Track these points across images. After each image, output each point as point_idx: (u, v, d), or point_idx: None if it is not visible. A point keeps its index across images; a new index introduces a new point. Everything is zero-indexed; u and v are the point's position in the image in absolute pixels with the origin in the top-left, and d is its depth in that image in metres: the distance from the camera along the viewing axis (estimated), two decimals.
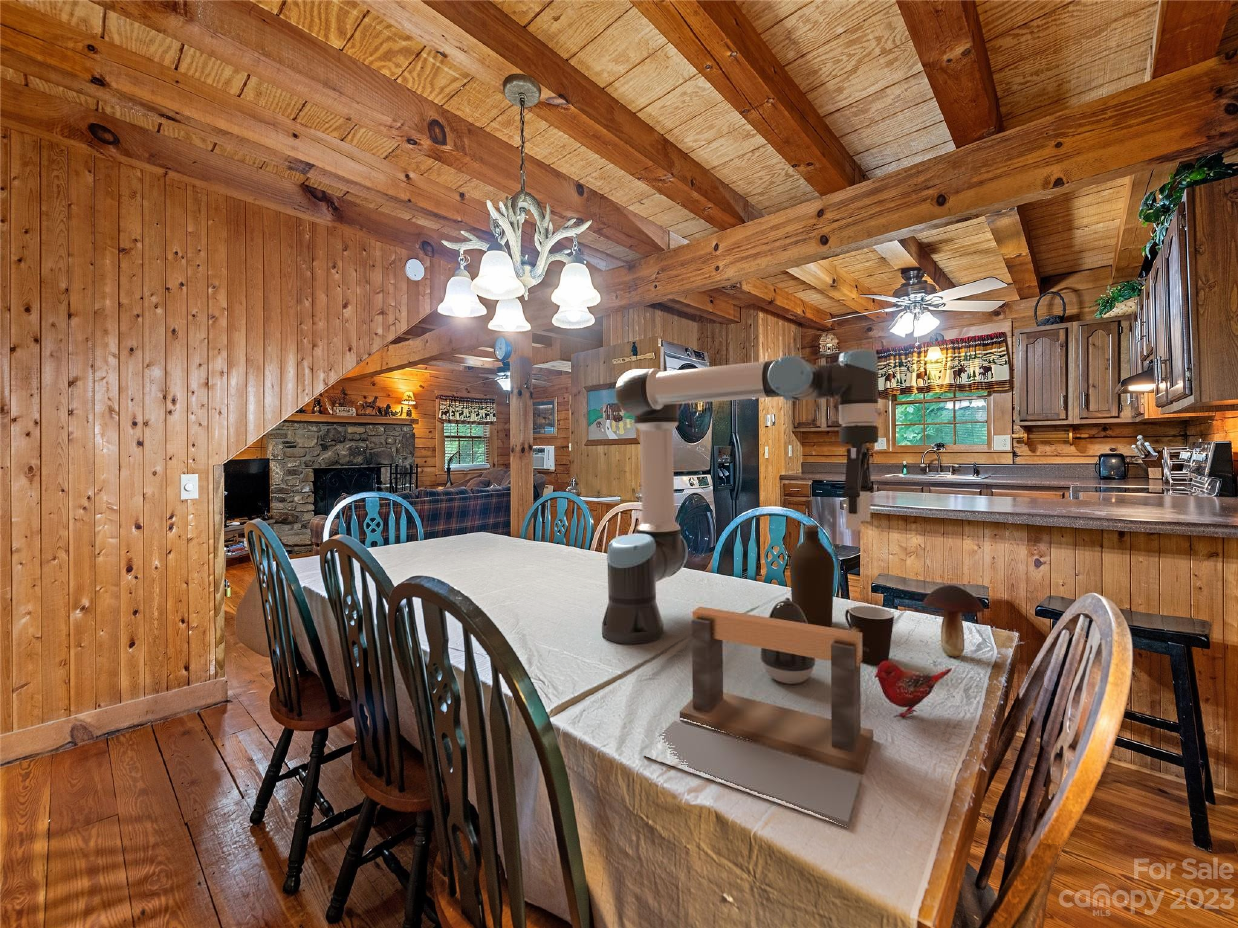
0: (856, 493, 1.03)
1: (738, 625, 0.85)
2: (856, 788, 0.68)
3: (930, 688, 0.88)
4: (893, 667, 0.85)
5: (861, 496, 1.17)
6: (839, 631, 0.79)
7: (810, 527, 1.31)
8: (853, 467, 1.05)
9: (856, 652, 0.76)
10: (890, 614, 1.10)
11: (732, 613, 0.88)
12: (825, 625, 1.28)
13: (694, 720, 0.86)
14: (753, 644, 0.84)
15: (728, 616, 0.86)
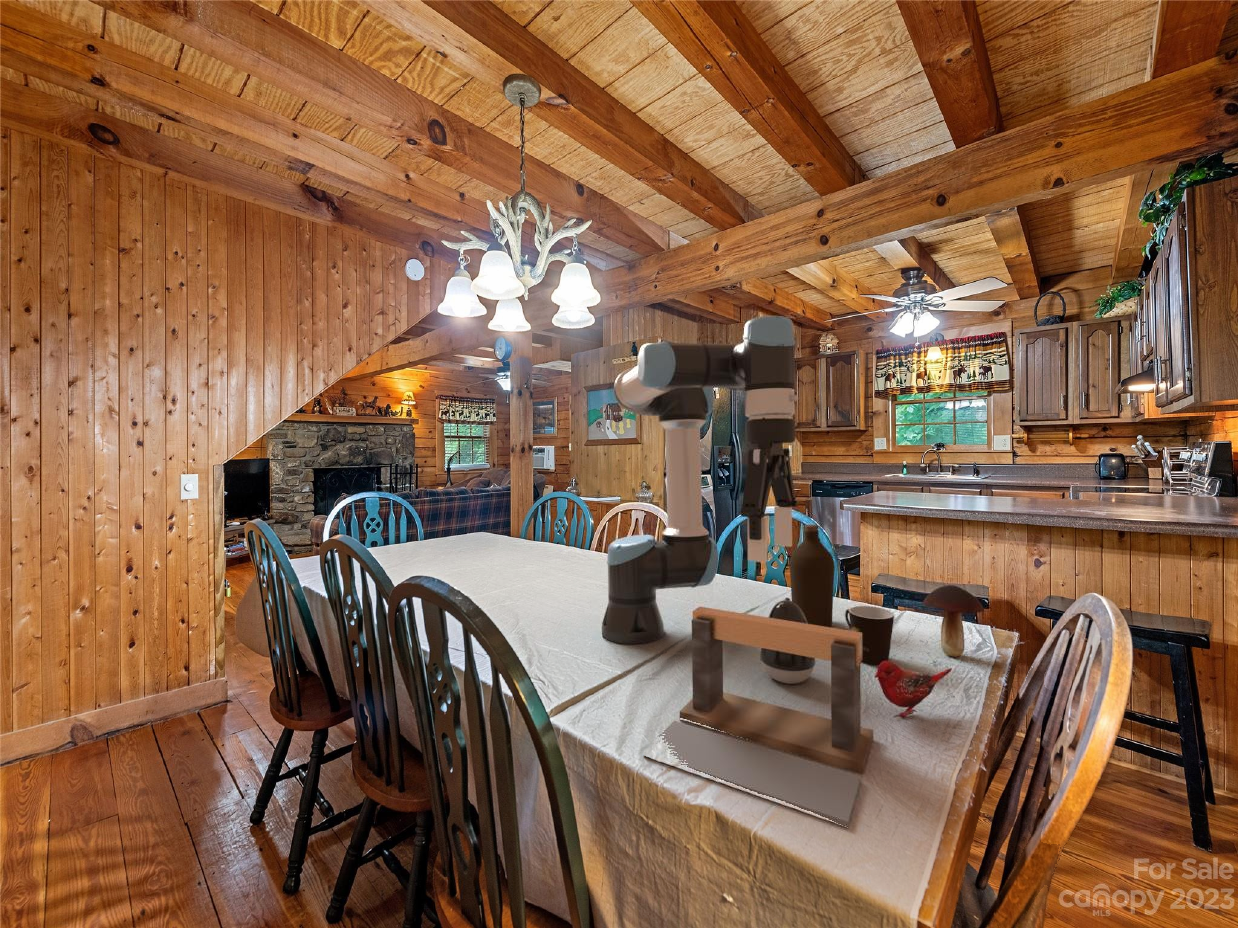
0: (756, 512, 0.74)
1: (738, 625, 0.85)
2: (856, 788, 0.68)
3: (930, 688, 0.88)
4: (893, 667, 0.85)
5: (780, 513, 0.89)
6: (839, 631, 0.79)
7: (810, 527, 1.31)
8: (755, 476, 0.76)
9: (856, 652, 0.76)
10: (890, 614, 1.10)
11: (732, 613, 0.88)
12: (825, 625, 1.28)
13: (694, 720, 0.86)
14: (753, 644, 0.84)
15: (728, 616, 0.86)
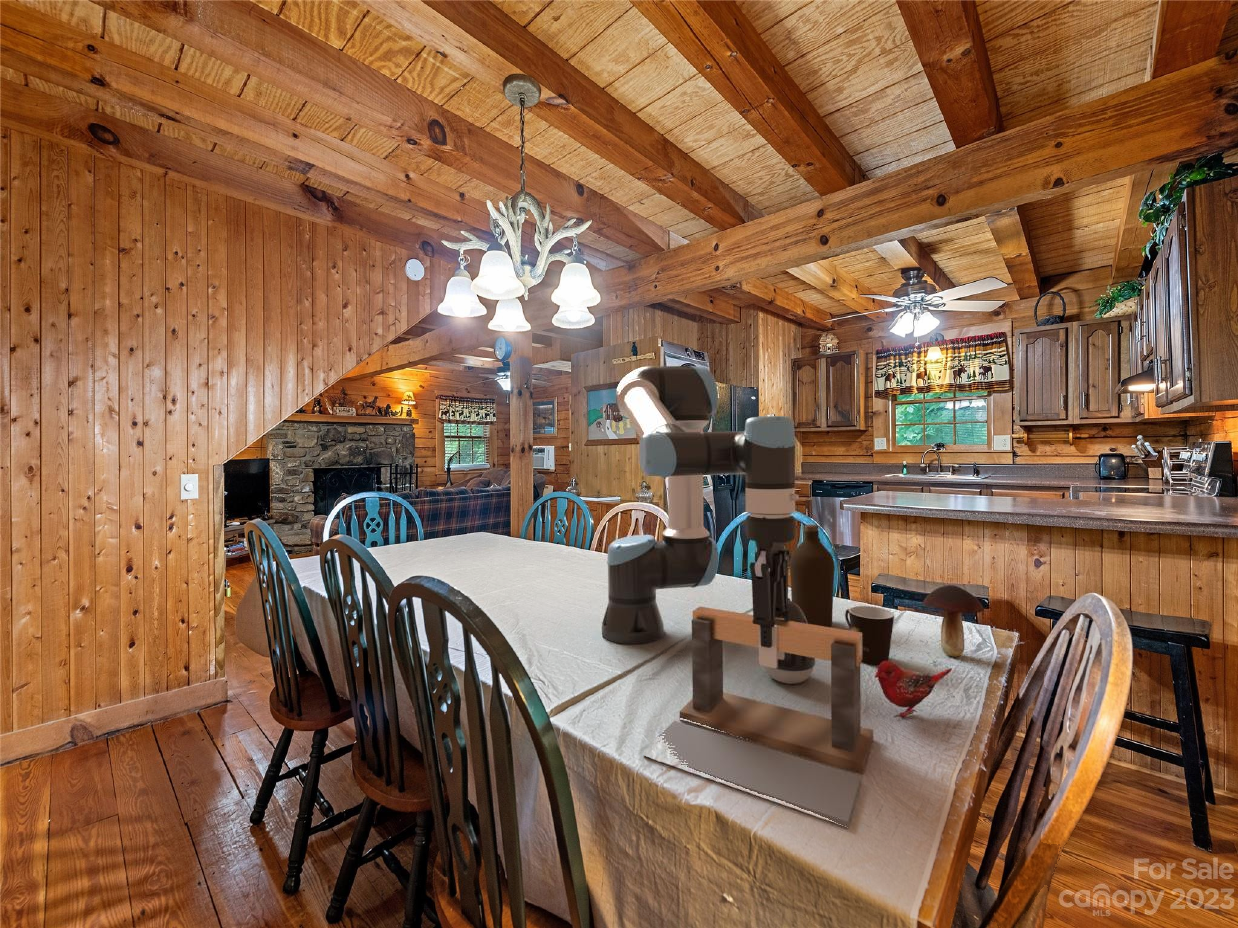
0: (768, 625, 0.79)
1: (738, 625, 0.85)
2: (856, 788, 0.68)
3: (930, 688, 0.88)
4: (893, 667, 0.85)
5: None
6: (839, 631, 0.79)
7: (810, 527, 1.31)
8: (761, 591, 0.79)
9: (856, 652, 0.76)
10: (890, 614, 1.10)
11: (732, 613, 0.88)
12: (825, 625, 1.28)
13: (694, 720, 0.86)
14: (753, 644, 0.84)
15: (728, 616, 0.86)
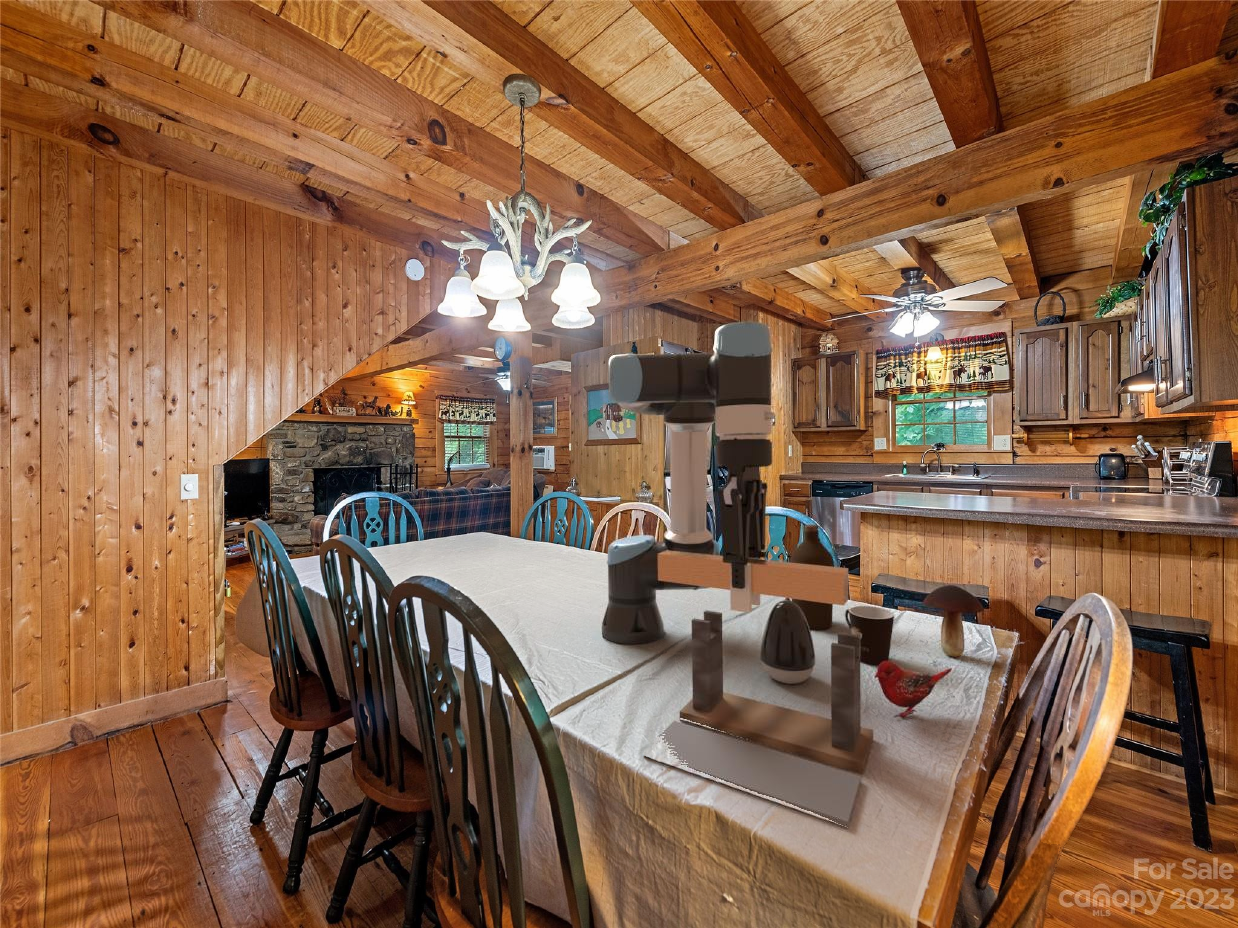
0: (739, 561, 0.68)
1: (708, 566, 0.74)
2: (856, 788, 0.68)
3: (930, 688, 0.88)
4: (893, 667, 0.85)
5: None
6: (821, 567, 0.68)
7: (810, 527, 1.31)
8: (731, 521, 0.68)
9: (840, 588, 0.65)
10: (890, 614, 1.10)
11: (702, 554, 0.77)
12: (825, 625, 1.28)
13: (694, 720, 0.86)
14: (724, 587, 0.73)
15: (697, 557, 0.76)
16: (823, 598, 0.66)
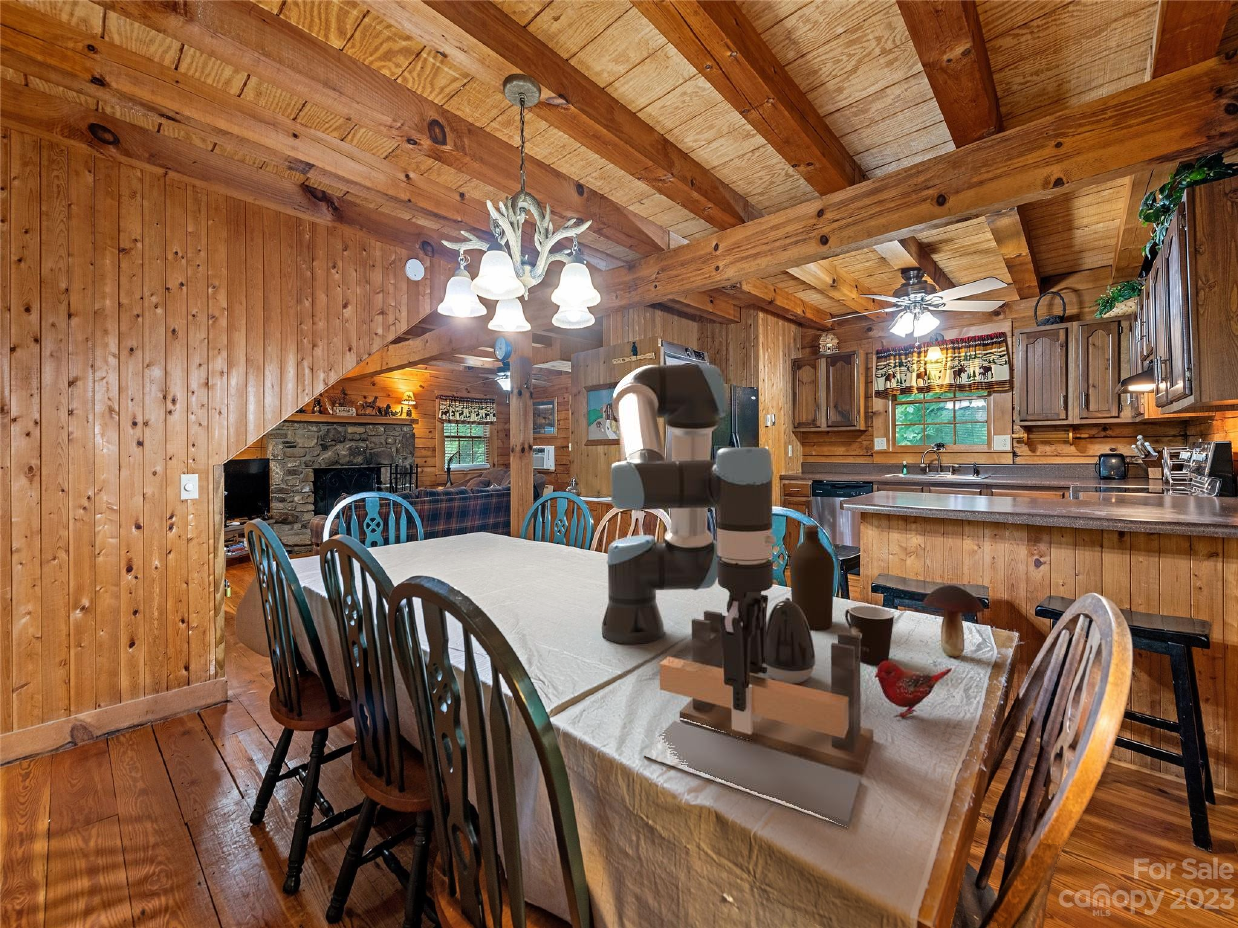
0: (740, 688, 0.69)
1: (709, 682, 0.75)
2: (856, 788, 0.68)
3: (930, 688, 0.88)
4: (893, 667, 0.85)
5: None
6: (821, 694, 0.69)
7: (810, 527, 1.31)
8: (732, 648, 0.69)
9: (841, 721, 0.66)
10: (890, 614, 1.10)
11: (704, 666, 0.78)
12: (825, 625, 1.28)
13: (694, 720, 0.86)
14: (726, 705, 0.74)
15: (698, 671, 0.76)
16: (823, 728, 0.67)
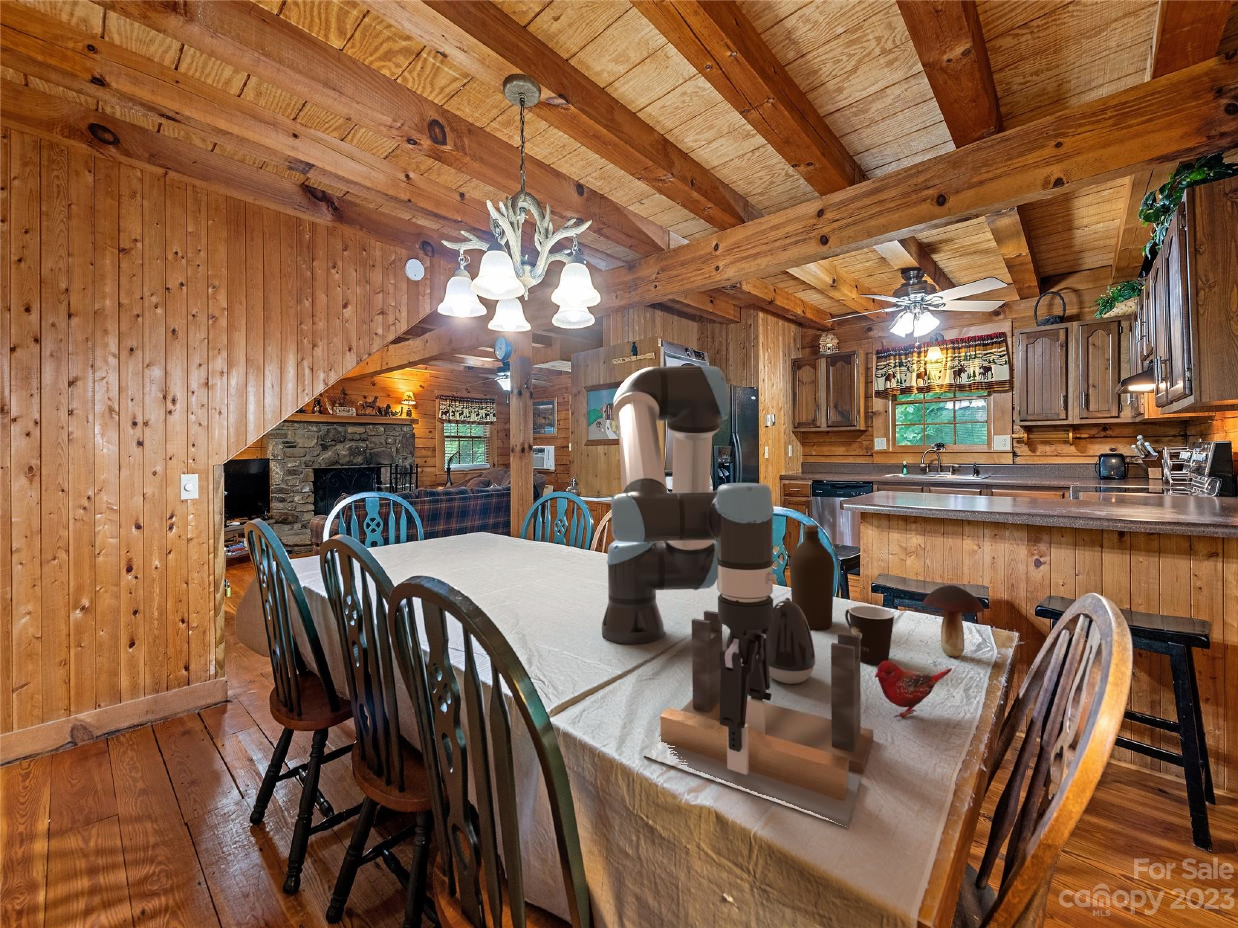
0: (736, 728, 0.68)
1: (710, 737, 0.75)
2: (856, 788, 0.68)
3: (930, 688, 0.88)
4: (893, 667, 0.85)
5: (751, 707, 0.77)
6: (822, 754, 0.69)
7: (810, 527, 1.31)
8: (730, 685, 0.68)
9: (841, 784, 0.66)
10: (890, 614, 1.10)
11: (704, 719, 0.78)
12: (825, 625, 1.28)
13: None
14: (726, 761, 0.74)
15: (699, 725, 0.77)
16: (824, 790, 0.67)
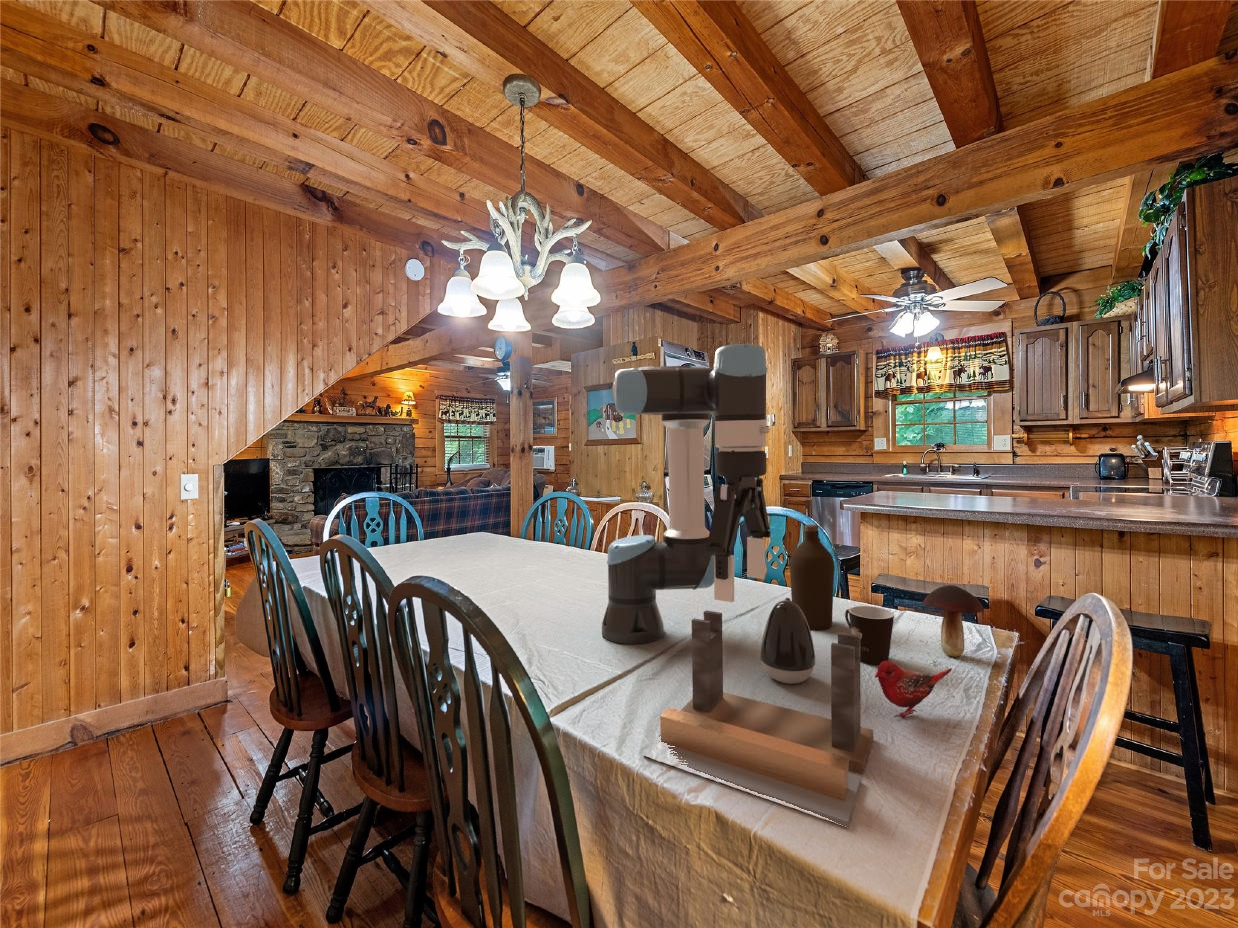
0: (722, 552, 0.71)
1: (710, 737, 0.75)
2: (856, 788, 0.68)
3: (930, 688, 0.88)
4: (893, 667, 0.85)
5: (753, 544, 0.86)
6: (822, 754, 0.69)
7: (810, 527, 1.31)
8: (722, 514, 0.73)
9: (841, 784, 0.66)
10: (890, 614, 1.10)
11: (704, 719, 0.78)
12: (825, 625, 1.28)
13: None
14: (726, 761, 0.74)
15: (699, 725, 0.77)
16: (824, 790, 0.67)
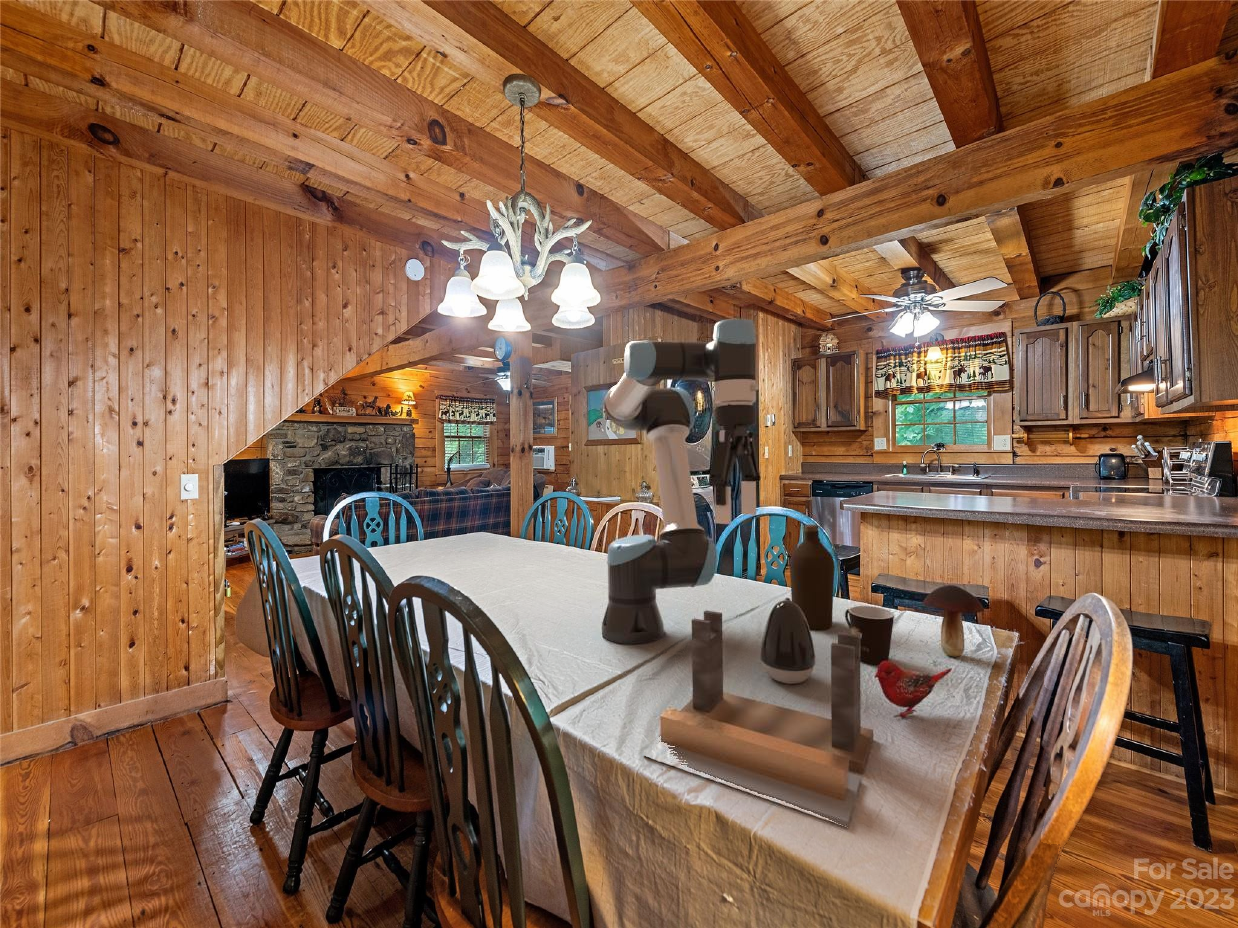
0: (720, 481, 0.89)
1: (710, 737, 0.75)
2: (856, 788, 0.68)
3: (930, 688, 0.88)
4: (893, 667, 0.85)
5: (746, 486, 1.04)
6: (822, 754, 0.69)
7: (810, 527, 1.31)
8: (720, 452, 0.91)
9: (841, 784, 0.66)
10: (890, 614, 1.10)
11: (704, 719, 0.78)
12: (825, 625, 1.28)
13: None
14: (726, 761, 0.74)
15: (699, 725, 0.77)
16: (824, 790, 0.67)
